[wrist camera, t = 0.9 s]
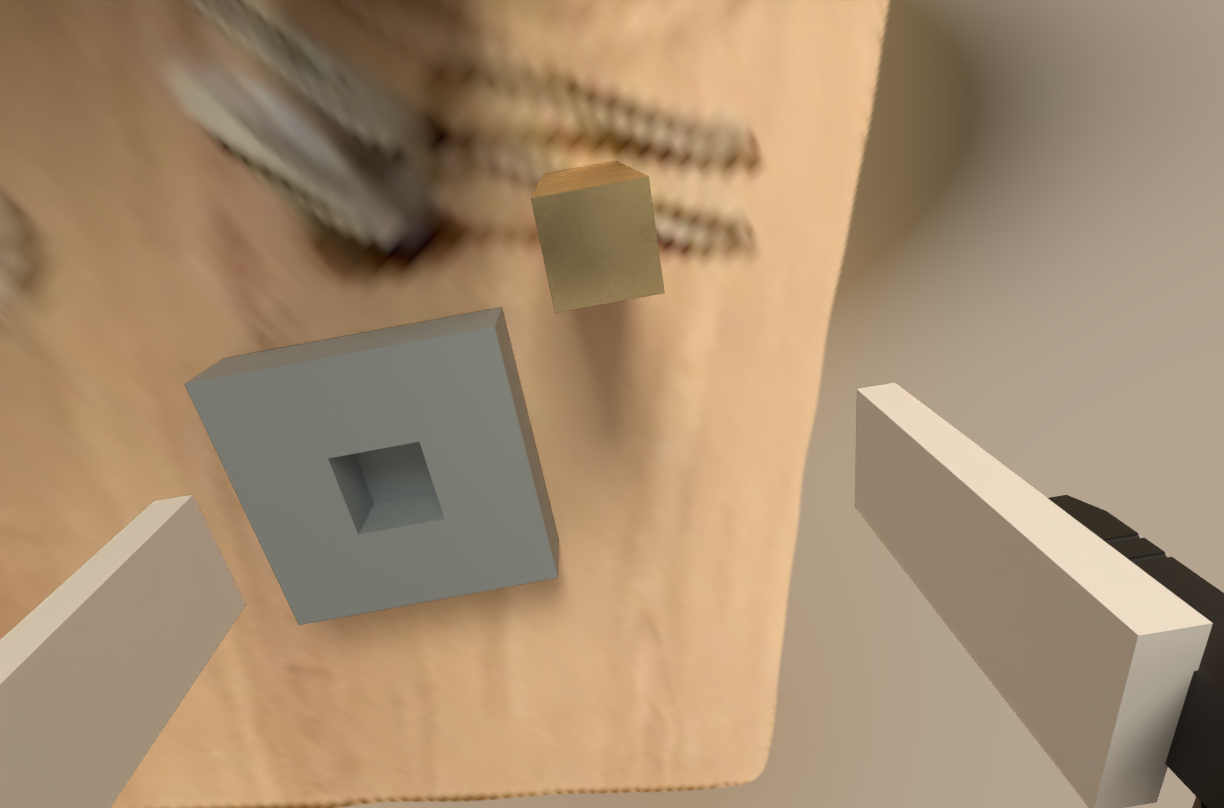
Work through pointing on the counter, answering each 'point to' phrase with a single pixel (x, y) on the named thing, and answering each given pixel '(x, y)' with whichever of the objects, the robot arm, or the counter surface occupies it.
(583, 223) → the pin
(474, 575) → the bore block
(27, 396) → the counter surface
